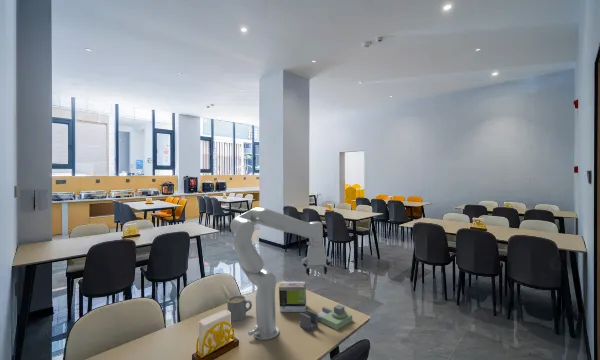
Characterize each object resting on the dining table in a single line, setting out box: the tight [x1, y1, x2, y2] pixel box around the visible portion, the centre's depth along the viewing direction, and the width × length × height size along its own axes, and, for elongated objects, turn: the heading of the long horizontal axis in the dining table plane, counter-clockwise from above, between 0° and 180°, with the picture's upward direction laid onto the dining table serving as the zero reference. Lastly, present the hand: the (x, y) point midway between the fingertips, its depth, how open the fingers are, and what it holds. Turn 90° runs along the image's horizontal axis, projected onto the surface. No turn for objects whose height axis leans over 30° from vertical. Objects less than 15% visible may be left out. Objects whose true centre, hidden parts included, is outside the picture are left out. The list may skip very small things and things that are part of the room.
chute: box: [299, 308, 319, 333], centre depth 145 cm, size 6×7×7 cm
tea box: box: [278, 280, 307, 313], centre depth 166 cm, size 15×10×15 cm, turn 84°
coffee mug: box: [226, 294, 253, 322], centre depth 158 cm, size 13×10×10 cm
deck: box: [317, 304, 353, 331], centre depth 152 cm, size 13×18×8 cm
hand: (316, 274), depth 157 cm, fingers open, 9 cm apart
